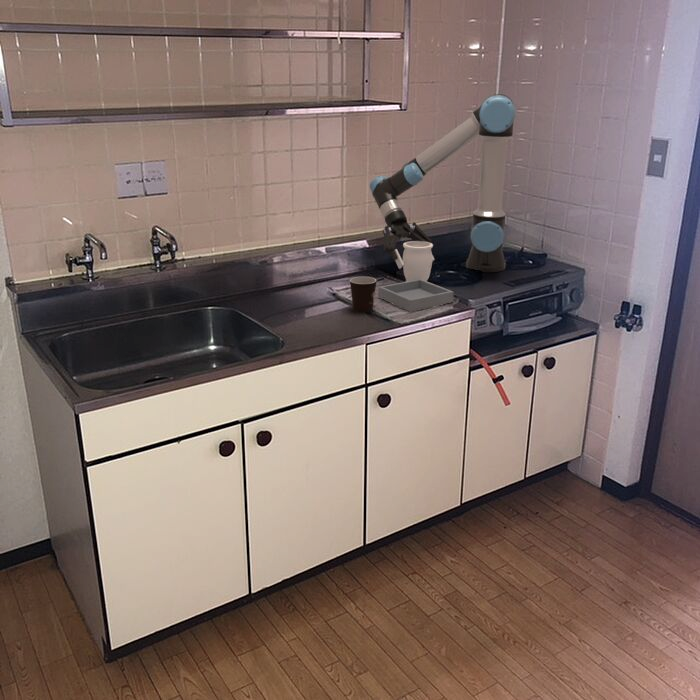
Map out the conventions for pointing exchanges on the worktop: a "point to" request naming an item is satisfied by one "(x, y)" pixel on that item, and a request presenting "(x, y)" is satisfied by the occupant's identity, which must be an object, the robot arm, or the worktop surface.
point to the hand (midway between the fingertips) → (417, 264)
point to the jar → (417, 260)
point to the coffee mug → (363, 293)
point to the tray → (415, 295)
